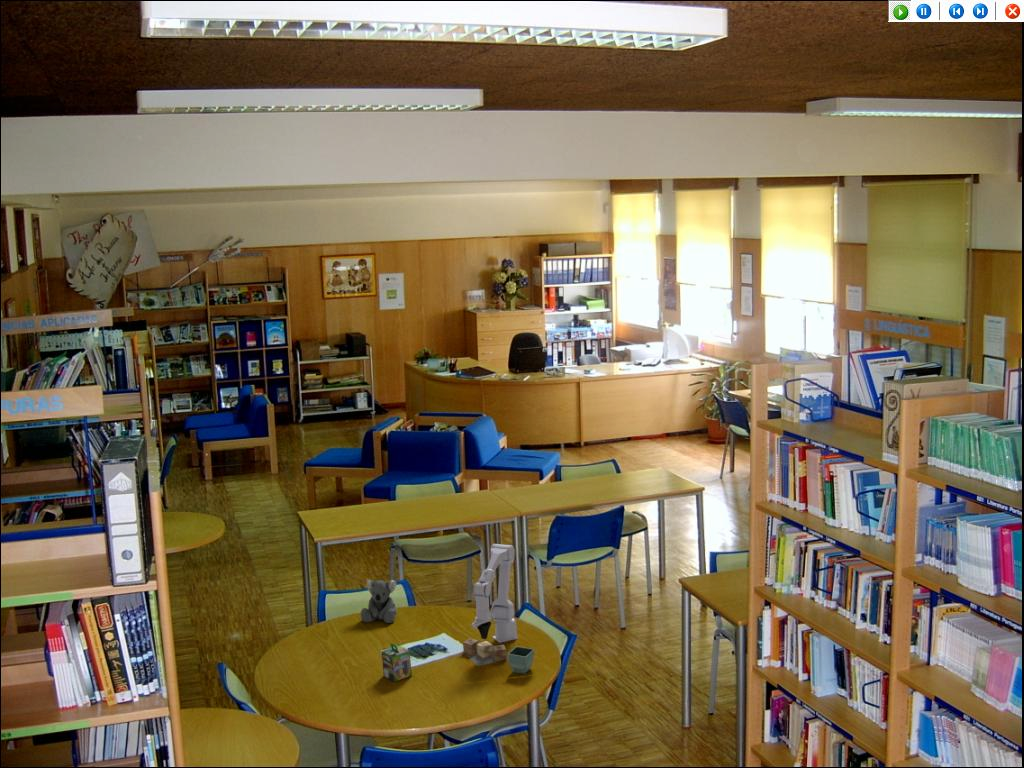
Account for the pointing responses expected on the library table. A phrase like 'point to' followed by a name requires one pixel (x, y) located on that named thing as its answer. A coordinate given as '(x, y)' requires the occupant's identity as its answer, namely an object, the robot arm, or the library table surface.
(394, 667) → the green printed carry box
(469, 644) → the pip block two
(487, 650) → the plain block
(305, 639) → the library table surface
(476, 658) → the felt mat
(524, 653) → the flower pot
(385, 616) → the koala plush
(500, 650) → the pip block one
